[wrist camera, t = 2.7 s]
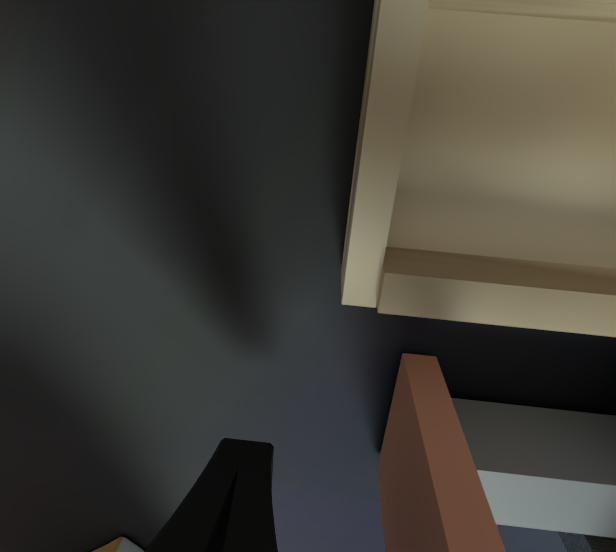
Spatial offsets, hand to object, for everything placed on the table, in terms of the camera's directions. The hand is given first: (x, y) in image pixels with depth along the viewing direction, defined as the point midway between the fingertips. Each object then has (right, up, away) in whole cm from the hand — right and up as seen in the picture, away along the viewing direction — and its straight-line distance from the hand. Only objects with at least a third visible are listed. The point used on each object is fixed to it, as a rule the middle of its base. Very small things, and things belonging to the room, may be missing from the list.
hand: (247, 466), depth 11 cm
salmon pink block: (+8, 0, +2) cm, 8 cm away
